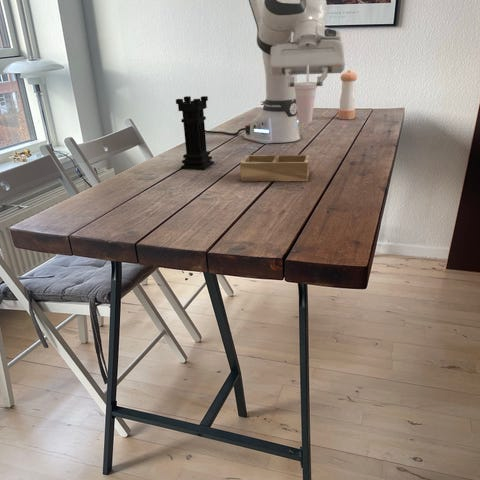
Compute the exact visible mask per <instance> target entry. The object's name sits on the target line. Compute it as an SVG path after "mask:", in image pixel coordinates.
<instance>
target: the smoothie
mask: <svg viewBox="0 0 480 480" xmlns="http://www.w3.org/2000/svg"><path fill="white" fill-rule="evenodd" d="M309 79H310V74H309V65H307V74H306V81H305V82H297V83H295V84H294V88H295V96H296V105H297V114H298V118H297V120H298V123H300V124H301V123H302V124H303V123H304V124H308V123H311V122H312V121H313V115H314V106H315V99H316V91H317V88H318V86H317V82H315V81H314V82H313V81H310V80H309Z"/></svg>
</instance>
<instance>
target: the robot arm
mask: <svg viewBox="0 0 480 480" xmlns="http://www.w3.org/2000/svg"><path fill="white" fill-rule="evenodd" d="M248 4H249V6H250V10H251V13H252V17H253V19H254V22H255V25H256V30H257V31H256V44H257V46H258V48H259V50H261V54H262V55H261V56H262V61H263V68H264V74H265V100H262V101H261V103H260V105H261V106H262V110H261V111H260V112H259V113H258V115H257V116H255V117H254V118H253V119H252V120H251V122H250V124H247V125H245V126H244V127H242V128H239V129H238V130H237V131H236V132H227V131H218V130H216V131H215V130H207V129H205V134H222V135H227V136H237V135H239V133H240V132H242V131H245V134H244V135H243V138H244V139H246V140H249V141H253V142H257V143H260V144H282V143H283V144H285V143H293V142H296V141H299V140H301V135H300V131H299V130H300V129H299V122H298V118H297V105H296V96H295V88H294V84H295V83H298V77H297V76H298V75H307V65H309V75H320V76H317V77H316V83H317V87H323V86H324V81H325V80H326V79H327V77H328V74H343V72H344V71H345V67H346V54H345V53H346V51H345V46H344V43H343V42H342V32H341V31H340V30H338V29H333V28H329V27H327V26H326V23H327V20H328V19H327V16H328V5H327V0H248Z"/></svg>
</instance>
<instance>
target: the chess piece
mask: <svg viewBox="0 0 480 480" xmlns="http://www.w3.org/2000/svg"><path fill="white" fill-rule="evenodd" d="M208 101H209V98H208V95H203V96H200V98H194V99H192V96H191V95H188V96H187V95H186V96H183V98H177V99H175V105H177V108H178V112H182V118H181V123H183V130H184V131H183V134H184V142H185V153H184V154H183V155H182V157H183V160H181V164H182V165H181V166H180V169H181V170H195V171H197V170H198V171H199V170H200V171H205V170H207V169H208V168H209V167H211V166H213V165H215V160H213V156H212V155H211V151H210V150H207V139H206V138H207V137H206V132H205V130H206V125H205V124H206V123H205V121H206V120H207V117H206V116H205V112H204V110H206V109H207V108H208V107H207V102H208Z"/></svg>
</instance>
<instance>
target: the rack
mask: <svg viewBox="0 0 480 480" xmlns="http://www.w3.org/2000/svg"><path fill="white" fill-rule="evenodd" d="M310 164H311V155H310V154H246V155H244V157H243V159H242V160H241V161H240V163H239V167H240V182H308V180H309V176H310V166H311V165H310Z"/></svg>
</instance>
